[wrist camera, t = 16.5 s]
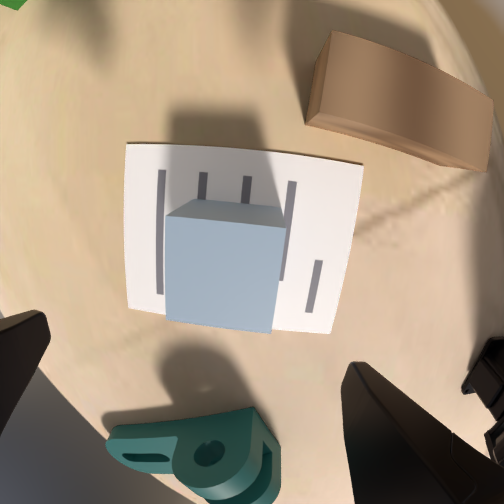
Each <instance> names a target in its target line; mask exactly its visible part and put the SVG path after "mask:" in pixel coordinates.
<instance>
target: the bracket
mask: <svg viewBox="0 0 504 504" xmlns="http://www.w3.org/2000/svg"><path fill="white" fill-rule="evenodd" d="M106 448H107V450H108V452H109V453H110V454H111V455H112V456H113V457H114V458H115V459H117V460H118V461H119V462H121V463H122V464H124V465H126V466H128V467H130V468H132V469H135V470H138V471H141V472H145V473H152V474H174V475H175V477H176V478H177V479H178V480H179V481H180V482H181V483H183V484H184V485H185V486H186V487H188V488H189V489H190V490H192V491H193V492H194V493H196V494H197V495H199V496H200V497H203V498H204V499H205V500H206V501H207V502H208V503H209V504H272V503H273V502H274V501H275V499H276V498H277V496H278V494H279V491H280V488H281V446H280V445H279V444H278V442H277V441H276V439H275V438H274V436H273V435H272V434H271V432H270V431H269V429H268V428H267V426H266V425H265V423H264V422H263V420H262V419H261V417H260V416H259V414H258V413H257V411H256V410H255V408H254V407H250V408H245V409H241V410H236V411H231V412H226V413H220V414H215V415H209V416H203V417H196V418H189V419H182V420H174V421H165V422H156V423H145V424H131V425H118V426H115V427H114V428H113V430H112V432H111V434H110V436H109V438H108V440H107V442H106Z"/></svg>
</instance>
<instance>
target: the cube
mask: <svg viewBox="0 0 504 504" xmlns="http://www.w3.org/2000/svg"><path fill="white" fill-rule="evenodd" d="M285 235H286V224H285V220H284V216H283V212H282V209H281V207H272V206H263V205H254V204H245V203H235V202H225V201H214V200H203V199H193V200H191V201H189V202H188V203H186V204H184V205H182V206H181V207H179V208H177V209H176V210H174V211H172V212H171V213H169V214H167V215H166V216H165V307H166V320H171V321H177V322H183V323H190V324H196V325H203V326H210V327H217V328H225V329H233V330H241V331H250V332H259V333H268V334H271V331H272V324H273V318H274V311H275V305H276V298H277V292H278V285H279V278H280V271H281V264H282V257H283V250H284V243H285Z"/></svg>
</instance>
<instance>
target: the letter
mask: <svg viewBox="0 0 504 504" xmlns="http://www.w3.org/2000/svg"><path fill="white" fill-rule="evenodd" d="M363 170H364V166H361V165H356V164H350V163H345V162H339V161H334V160H327V159H321V158H315V157H308V156H301V155H294V154H286V153H278V152H270V151H260V150H250V149H240V148H227V147H213V146H196V145H170V144H126V159H125V179H124V250H125V271H126V286H127V298H128V308H132V309H137V310H142V311H148V312H153V313H159V314H165V315H166V307H165V216H166V215H167V214H169V213H171V212H172V211H174V210H176V209H177V208H179V207H181V206H182V205H184V204H186V203H188V202H189V201H191V200H193V199H203V200H214V201H225V202H235V203H245V204H254V205H263V206H272V207H281V209H282V212H283V216H284V220H285V224H286V235H285V243H284V250H283V257H282V264H281V271H280V278H279V285H278V292H277V298H276V305H275V311H274V318H273V324H272V329H277V330H287V331H299V332H311V333H325V334H330V333H331V329H332V325H333V321H334V318H335V314H336V310H337V306H338V302H339V298H340V294H341V289H342V285H343V281H344V276H345V272H346V267H347V263H348V258H349V253H350V248H351V243H352V238H353V233H354V227H355V222H356V216H357V210H358V204H359V198H360V191H361V185H362V178H363Z"/></svg>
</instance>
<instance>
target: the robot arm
mask: <svg viewBox="0 0 504 504" xmlns="http://www.w3.org/2000/svg"><path fill="white" fill-rule="evenodd" d="M50 340H51V334H50V330H49V326H48V322H47V318H46V315H45V314H44V313H43V312H41V311H38V310H30V311H27V312H23V313H20V314H16V315H13V316H9V317H6V318H3V319H0V436H1V434H2V432H3V430H4V428H5V426H6V424H7V422H8V420H9V418H10V416H11V414H12V412H13V410H14V409H15V407H16V405H17V403H18V401H19V399H20V398H21V396H22V394H23V392H24V391H25V389H26V387H27V386H28V384H29V382H30V380H31V379H32V377H33V375H34V373H35V370H36V369H37V366H38V364H39V362H40V360H41V358H42V356H43V354H44V352H45V350H46V348H47V346H48V345H49V343H50ZM461 392H462V393H463V394H464V395H466V394H471V393H476V394H477V395H478V397H479V398H480V400H481V401H482V403H483V404H484V406H485V407H486V408H488V409H489V411H490V412H491V414H492V415H493V417H494V419H495V420H496V421H498V422H497V423H496V424H495V425H494V426H493V427H492V428H491V429H490V430H488V431H487V432H486V433H485V434H484V437H485V440H486V445H487V448H488V451H489V455H490V458H491V459H489V458H488V457H486V456H485V455H483V454H482V453H480V452H479V451H477V450H476V449H474V448H473V447H472V446H470V445H469V444H468V443H466V442H465V441H464V440H462V439H461V438H460V437H458V436H457V435H456V434H455V433H452V432H451V430H449V429H448V428H447V427H446V426H444V425H443V424H442V423H441V422H439V421H438V420H437V419H436V418H434V417H433V416H432V415H431V414H429V413H428V412H427V411H426V410H424V409H423V408H422V407H421V406H419V405H418V404H417V403H416V402H414V401H413V400H412V399H411V398H409V397H408V396H407V395H406V394H404V393H403V392H402V391H401V390H399V389H398V388H397V387H396V386H394V385H393V384H392V383H391V382H390V381H388V380H387V379H386V378H385V377H383V376H382V375H381V374H380V373H378V372H377V371H376V370H375V369H374V368H372V367H371V366H370V365H369V364H367V363H366V362H355V361H353V362H351V363H350V364H349V366H348V368H347V371H346V374H345V376H344V379H343V382H342V385H341V401H342V415H343V431H344V441H345V447H346V453H347V458H348V464H349V470H350V476H351V482H352V488H353V495H354V502H355V504H504V337H494V338H490V339H489V340H488V342H487V343H486V345H485V348H484V350H483V352H482V354H481V356H480V358H479V360H478V361H477V363H476V365H475V367H474V369H473V371H472V373H471V374H470V376H469V378H468V380H467V381H466V383H465V385H464V387H463V388H462V390H461Z"/></svg>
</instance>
